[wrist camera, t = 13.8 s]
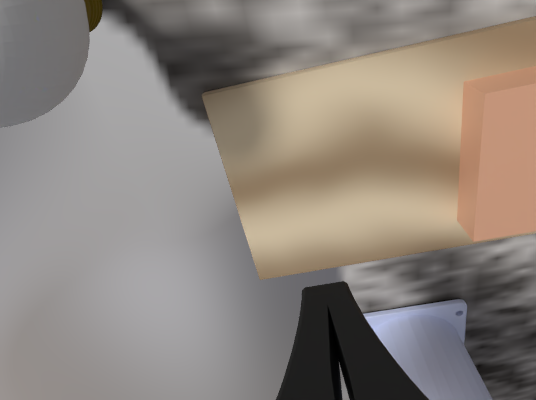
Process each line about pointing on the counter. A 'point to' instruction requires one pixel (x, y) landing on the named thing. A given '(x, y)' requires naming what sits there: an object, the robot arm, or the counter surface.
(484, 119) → the tile
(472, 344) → the counter surface
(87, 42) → the light bulb
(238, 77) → the counter surface
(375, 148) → the mat
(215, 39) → the counter surface
